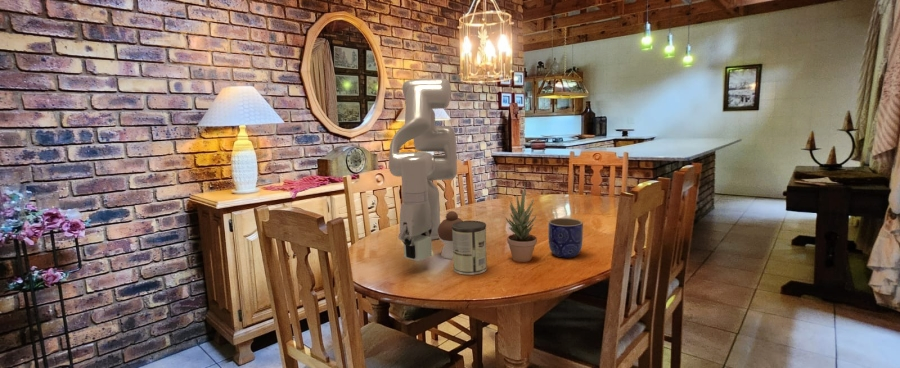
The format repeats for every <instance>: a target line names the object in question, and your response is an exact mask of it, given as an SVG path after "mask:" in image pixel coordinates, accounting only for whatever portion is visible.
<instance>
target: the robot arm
mask: <svg viewBox="0 0 900 368" xmlns="http://www.w3.org/2000/svg"><path fill="white" fill-rule="evenodd" d="M401 88H402V94H403V97H404V100H405V110H404V111H405V114H404V124H403V125H402V126H400V128H399V129H398V130H397V131H396V132H395V134H394V135H393V137H392V139H391V141H390V144H389V155H388V168H389V172H390V174H391V175H392V176H395V177H397V178H398V177H400V178H401V187H402V189H401V190H402V192H401V193H402V203H400V204H401V205H400V211H399V212H400V214H399V234H398V235H397V236H398V239H399V240H400V241H401V242H402V243H403V246H404V245H406V257H408V258H412V259H414V258H415V246H414V245H413V244H414V239H415V236H417V235H424V236H429V237H431V241H433V240H438V239H439V235H438V227H439V225H440V224H441V212H440V211H441V209H440V208H441V206H440V190H439V189H438V187H437V186H436V184H435V183H434V182H433V181H446V180H453V179H455V178H456V177H457V172H458V159H457V138H456V132H455V130H454V128H453V127H452V126H450V125H436V114H435V113H436V112H435V111H434V110H436V109H437V110H438V109H440V110H441V109H446V108H448V107H449V105H450V102H451V95H452V86H451V83H450V81H449V80H448V79H446V78H415V79H409V80H406V81H405V82H403V84H402V87H401ZM411 140H413V145H414V149H415V150H416V151H412V152H411V151H409V152H407V151H406V152H400V150H401V149H402V147H403V146H404V144H406V143H407V142H409V141H411ZM417 151H418V152H417ZM431 152H442V153H444V154H432V153H431ZM409 237H411V239H410V240H409ZM439 240H440V239H439Z"/></svg>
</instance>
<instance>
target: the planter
mask: <svg viewBox="0 0 900 368" xmlns="http://www.w3.org/2000/svg"><path fill="white" fill-rule="evenodd" d="M547 224H548V233H547V234H548V235H547V237H548V248H549V250H550V252H551V253H552V254H553V255H554V256H556V257H558V258H565V259H570V258H575V257H576V256H578V255H579V254H580V253H581V251H582V249H583V239H584V237H583V236H584V230H583V229H584V222H583V221H582V220H580V219H576V218H569V217H568V218H567V217H560V218H558V217H557V218H552V219H549V220H548V223H547Z"/></svg>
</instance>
